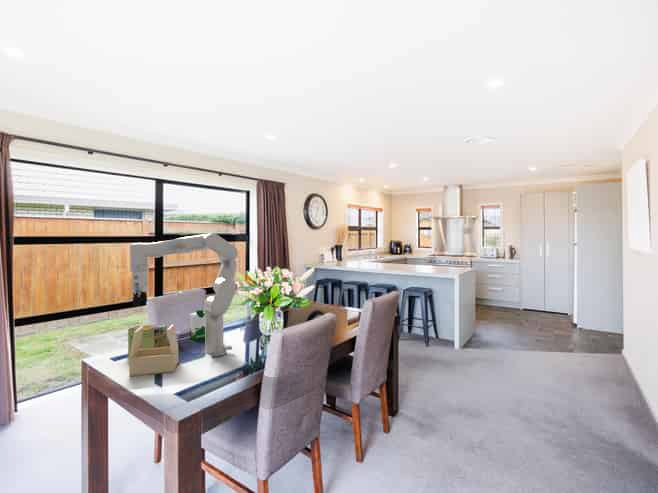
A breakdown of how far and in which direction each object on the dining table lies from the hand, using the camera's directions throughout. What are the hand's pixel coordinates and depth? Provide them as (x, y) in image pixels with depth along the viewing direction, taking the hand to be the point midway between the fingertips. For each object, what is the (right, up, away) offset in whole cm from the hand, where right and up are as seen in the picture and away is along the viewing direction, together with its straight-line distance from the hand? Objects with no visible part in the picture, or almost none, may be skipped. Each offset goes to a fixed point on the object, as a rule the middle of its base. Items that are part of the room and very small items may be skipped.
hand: (140, 303), depth 169 cm
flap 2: (+19, -21, -5) cm, 29 cm away
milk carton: (+10, -32, +49) cm, 59 cm away
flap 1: (+2, -22, -9) cm, 24 cm away
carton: (+11, -30, -7) cm, 32 cm away
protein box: (-3, -30, +12) cm, 33 cm away
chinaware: (-2, -30, +31) cm, 43 cm away
